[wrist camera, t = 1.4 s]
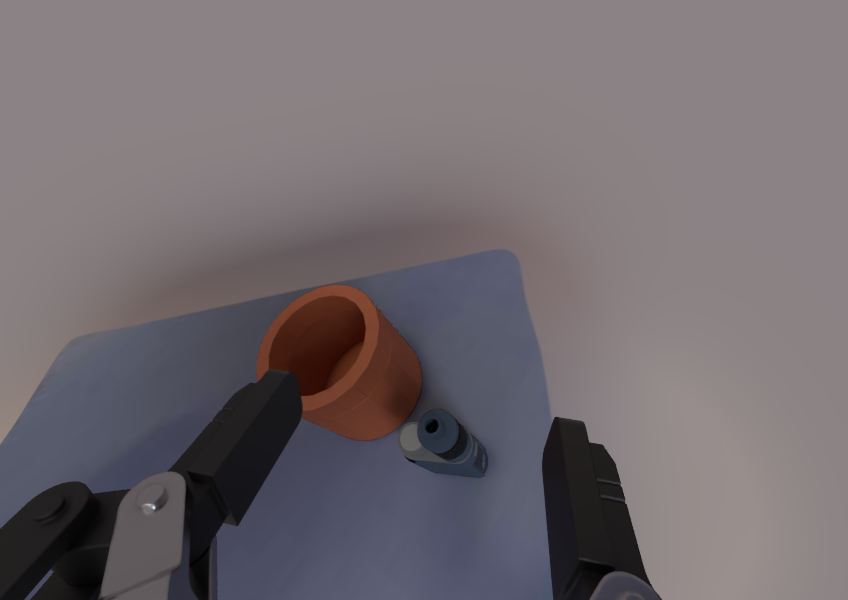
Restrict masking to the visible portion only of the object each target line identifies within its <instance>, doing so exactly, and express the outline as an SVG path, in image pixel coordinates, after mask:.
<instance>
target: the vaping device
mask: <svg viewBox="0 0 848 600" xmlns="http://www.w3.org/2000/svg"><path fill="white" fill-rule="evenodd" d="M398 444H399V446H400V448H401V450H402V452H403V454H404V456H405V458H406V459H407V460H409V461H410V462H412V463H414V464H416V465H419V466H421V467H423V468H425V469H427V470H429V471H431V472H434V473H442V474H450V475H459V476H468V477H477V478H480V477H483V476H485V475H484V474H485V472H486V470H487V466H488V457H487V453H486V451H485V450H486V449H485V448H484V447H483V446H482V445H481V444H480V443H479V442H478V440H477V439H476V438H475V437H474V436H473V435H472V434H471V433H470V432H469V430H468V429H467V428H465V427H464V426H462V425H461V424H460V423H459V422H458V421H457V420H455V418H454V417H453V416H452V415H451V414H450V413H449V412H447V411H445V410H443V409H433V410H430V411H428V412H427V413H425V414H424V415H423V416H422V418H421V419H420V421H419V422H409V423H407V424H405V425H404V426H403V427H402V428H401V430H400V431H399V434H398Z"/></svg>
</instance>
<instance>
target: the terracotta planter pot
mask: <svg viewBox="0 0 848 600" xmlns="http://www.w3.org/2000/svg"><path fill="white" fill-rule="evenodd" d="M269 369H276V370H282V371H288V372H293V373H295V374H296V377H297V381H298V386H299V390H300V394H301V399H302V403H303V412H302V416H301V418H303V419H305V420H307V421H310V422H312V423H314V424H316V425H319V426H321V427H323V428H326V429H328V430H330V431H332V432H335V433H337V434H339V435H342V436H345V437H347V438H350V439H353V440H360V441H368V440H374V439H377V438H380V437H383V436H385V435H387V434H389V433H390V432H392V431H394V430H395V429H396V428H397V427H399V426H400V425H401V424H402V423H403V422H404V421H405V420H406V419H407V417H408V416H409V415H410V413H411V412H412V410H413V408H414V407H415V405H416V402H417V400H418V397H419V394H420V390H421V384H422V373H421V367H420V363H419V360H418V358H417V356H416V354H415V353H414V351H413V350H412V349H411V348H410V346H409V345H408V344H407V342H406V341H405V340H404V339H403V338H402V336H401V335H400V334H399V333H398V332H397V330H396V329H395V328H394V327H393V326H392V325H391V323H390V322H389V321H388V320H387V319H386V317H385V316H384V315H383V314H382V313H381V311H380V310H379V309H378V308H377V307H376V306H375V304H374V303H373V302H372V301H371V300H370V298H369V297H368V296H367V295H366V294H365V293H363V292H361V291H359V290H358V289H356V288H354V287H352V286H344V285H330V286H325V287H319V288H317V289H315V290H313V291H311V292H309V293H306V294H304V295H303V296H301V297H299V298H298V299H297V300H295V301H294V302H293V303H291V304H290V305H289V306H287V308H285V309H284V310H283V312H282V313H281V314H280V315H279V316H278V317H277V318H276V320H275V321H274V322H273V323H272V325H271V326H270V328H269V330H268V332H267V333H266V335H265V337H264V339H263V341H262V344H261V347H260V351H259V354H258V357H257V380H258V381H259V380H260V379H261V377H262V376H263V375H264V374H265V373H266V371H268V370H269Z"/></svg>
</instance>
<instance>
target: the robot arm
mask: <svg viewBox="0 0 848 600" xmlns="http://www.w3.org/2000/svg"><path fill="white" fill-rule="evenodd" d="M302 412H303V403H302V399H301V394H300V390H299V386H298V381H297V377H296V374H295V373H293V372H288V371H282V370H276V369H269V370H268V371H266V373H265V374H264V375H263V376H262V377H261V379H260V380H259V381H258V382H257V384H256V383H250V384H248V385H247V386H245V387H244V388H242V389H241V390H239V391H238V392H236V393H235V394H234V395H233V396H232V397H231V399H230V400H229V401H228V402H227V403H226V404H225V406H224V407H223V410H220V411H219V413H218V414H217V415H216V416H215V417H214V419H213V422H210V423H209V424H208V426H207V427H206V428H205V429H204V430H203V431H202V433H201V434H200V435H199V436H198V437H197V439H196V440H195V441H194V442H193V443H192V444H191V446H190V447H189V448H188V449H187V450H186V451H185V453H184V454H183V455H182V456H181V457H180V458H179V460H178V461H177V462H176V463H175V464H174V465H173V466H172V467H171V469H169V470H168V471H167V472H161V473H157V474H154V475H152V476H150V477H148V478H146V479H144V480H142V481H141V482H139V483H138V484H137V485H135V486H134V487H133V488H132V489H127V490H119V491H111V492H103V493H95V494H93V493H92V492H91V491H90V489H89V488H88V487H87V486H86V485H85V484H84V483H81V482H66V483H62V484H59V485H56V486H54V487H52V488H49V489H48V490H46V491H44V492H42V493H41V494H39V495H37V496H36V497H35V498H33V499H32V500H31V501H30V502H28V503H27V504H26V505H25V506H24V507H23V508H22V509H21V510H20V511H19V512H18V513H17V514H15V515H14V516H13V517H12V518H11V519H10V520H9V521H8V522H7V523H6V524H5V525H4V526H3V527H2V528H1V529H0V600H24V599H25V598H26V597H27V596H28V594H29V593H30V592H31V591H32V590H33V589H34V588H35V586H36V585H37V584H38V583H39V582H40V581H41V579H42V578H43V577H44V576H45V575H46V574H47V573H48V571H49V570H50V569H51V570H52V571H53V572H54V573H53V574H52V575H51V576H50V577H49V578H48V580H47V581H46V582H45V583H44V584H43V585H42V587H41V588H40V589H39V590H38V591H37V593H36V594H35V595H34V596H33V597H32V598H31V600H217V537H216V534H217V532H218V530H219V529H220V527H221V526H222V524H223V523H226V524H231V525H235V526H238V525H239V523H240V521H241V520H242V518H243V516H244V515H245V513H246V511H247V510H248V508H249V506H250V505H251V503H252V501H253V500H254V498H255V496H256V495H257V493H258V491H259V490H260V488H261V486H262V485H263V483H264V481H265V480H266V478H267V476H268V474H269V473H270V471H271V469H272V468H273V466H274V464H275V463H276V461H277V459H278V458H279V456H280V454H281V453H282V451H283V449H284V448H285V446H286V444H287V443H288V441H289V439H290V438H291V436H292V434H293V433H294V431H295V429H296V428H297V426H298V424H299V422H300V420H301V416H302ZM542 473H543V485H544V496H545V508H546V519H547V531H548V543H549V554H550V566H551V578H552V589H553V600H662V599H661V598H660V596H659V595H658V594H657V593H656V592H655V590H654V589H653V587H652V585H651V584H650V582H649V580H648V577H647V575H646V572H645V569H644V566H643V562H642V559H641V555H640V551H639V548H638V544H637V540H636V537H635V533H634V529H633V526H632V523H631V519H630V515H629V511H628V508H627V504H625V497H624V493H623V490H622V487H621V486H620V484H621V482H620V478H619V475H618V472H617V468H616V464H615V462H614V461H613V459H612V458H611V456H610V455H609V454H608V452H607V450H606V449H605V448H604V446H603V445H601V444H596V443H590V442H589V440H588V435H587V431H586V427H585V424H584V422H582V421H578V420H572V419H566V418H560V417H555V418H554V420H553V423H552V426H551V429H550V432H549V435H548V438H547V441H546V445H545V448H544V452H543V460H542Z"/></svg>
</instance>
